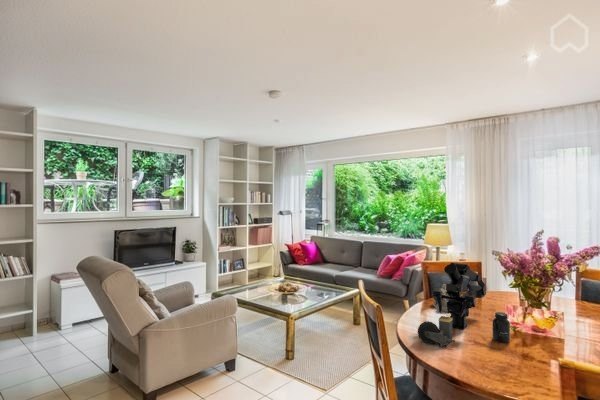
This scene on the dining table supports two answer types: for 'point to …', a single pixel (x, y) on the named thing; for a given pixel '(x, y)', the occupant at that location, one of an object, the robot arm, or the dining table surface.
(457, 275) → the robot arm
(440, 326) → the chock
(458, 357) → the dining table surface
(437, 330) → the caster wheel
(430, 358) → the dining table surface
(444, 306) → the ceramic cottage
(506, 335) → the supplement bottle
